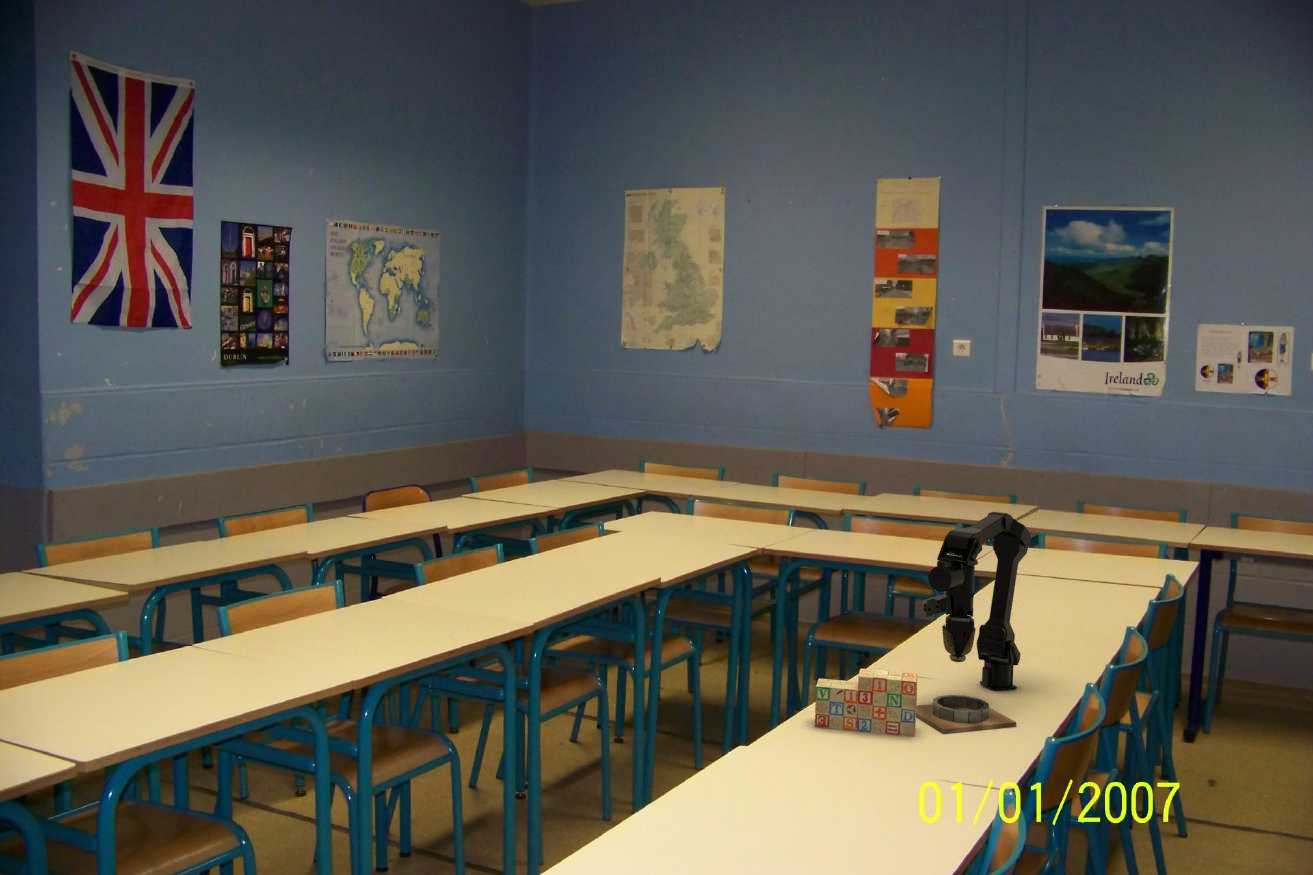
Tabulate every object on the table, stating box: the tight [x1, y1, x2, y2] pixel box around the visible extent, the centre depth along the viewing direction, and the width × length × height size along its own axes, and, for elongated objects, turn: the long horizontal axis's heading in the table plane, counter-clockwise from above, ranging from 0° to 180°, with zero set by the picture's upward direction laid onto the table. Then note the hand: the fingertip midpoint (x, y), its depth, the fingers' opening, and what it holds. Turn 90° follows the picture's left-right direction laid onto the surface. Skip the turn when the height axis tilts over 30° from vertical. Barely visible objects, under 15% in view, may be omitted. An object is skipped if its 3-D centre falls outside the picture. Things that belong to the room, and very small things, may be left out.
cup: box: [941, 624, 977, 663], centre depth 270 cm, size 8×7×8 cm
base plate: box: [916, 703, 1017, 735], centre depth 263 cm, size 18×16×1 cm
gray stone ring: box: [932, 694, 990, 723], centre depth 262 cm, size 12×12×2 cm
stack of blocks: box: [814, 668, 918, 737], centre depth 256 cm, size 21×6×12 cm, turn 75°
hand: (958, 653), depth 270 cm, fingers closed on cup, 6 cm apart
